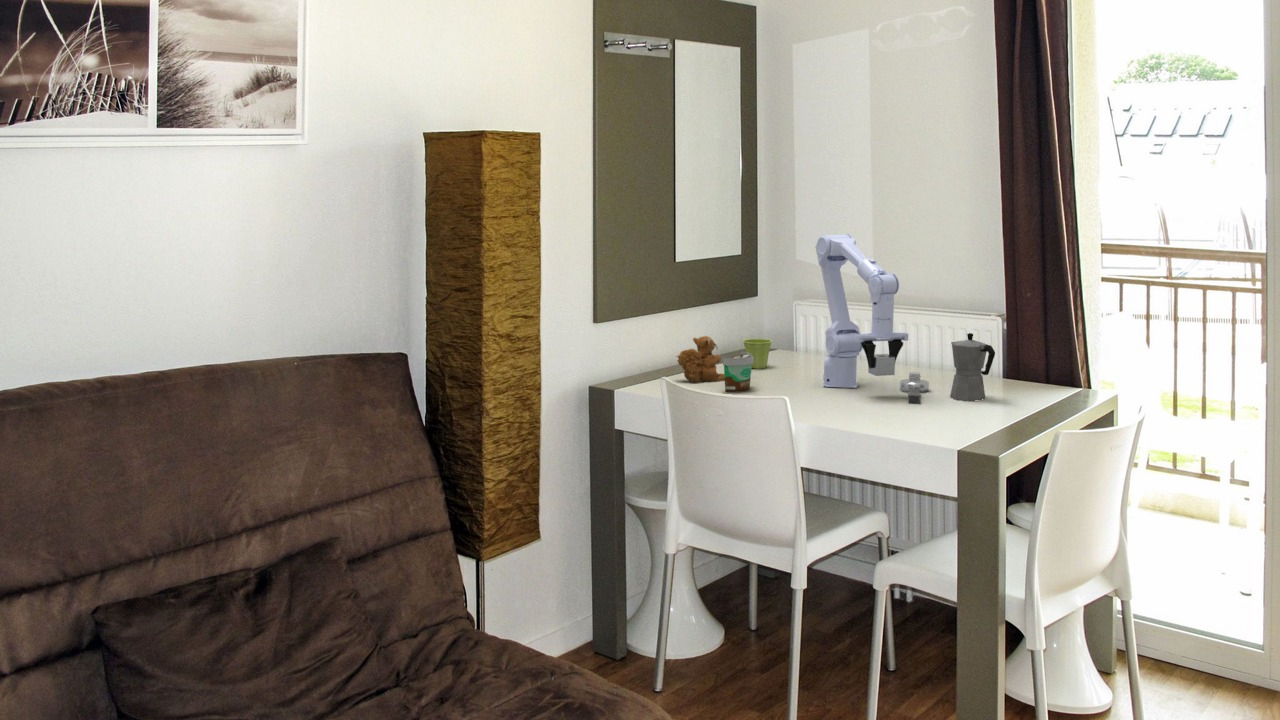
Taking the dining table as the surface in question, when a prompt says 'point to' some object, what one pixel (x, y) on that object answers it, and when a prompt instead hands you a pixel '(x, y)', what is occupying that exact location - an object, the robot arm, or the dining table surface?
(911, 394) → the ratchet
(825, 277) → the robot arm
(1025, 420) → the dining table surface
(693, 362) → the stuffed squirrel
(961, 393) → the coffeepot
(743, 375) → the food container
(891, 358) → the grey cube
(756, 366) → the plant pot
